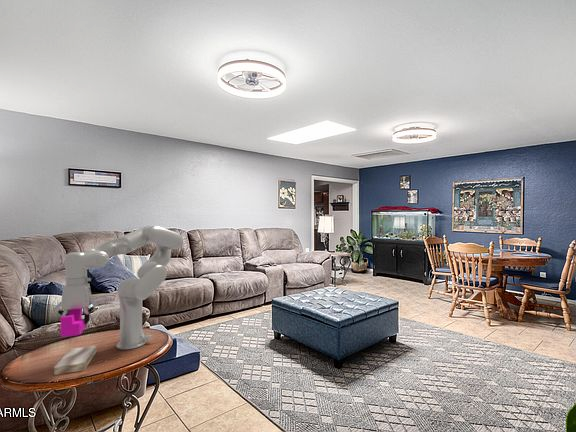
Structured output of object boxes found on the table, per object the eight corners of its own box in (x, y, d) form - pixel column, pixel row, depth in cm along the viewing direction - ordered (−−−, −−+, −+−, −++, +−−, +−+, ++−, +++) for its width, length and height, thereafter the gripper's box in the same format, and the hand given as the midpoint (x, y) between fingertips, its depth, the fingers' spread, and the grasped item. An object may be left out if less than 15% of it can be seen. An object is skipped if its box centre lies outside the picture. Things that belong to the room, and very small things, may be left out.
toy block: (79, 334, 124) (79, 315, 124) (60, 337, 122) (60, 317, 122) (88, 323, 138) (88, 306, 138) (71, 325, 136) (71, 308, 136)
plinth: (96, 352, 142) (96, 345, 142) (84, 370, 124) (84, 362, 124) (70, 355, 138) (70, 348, 138) (54, 375, 120) (54, 367, 120)
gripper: (101, 278, 138) (102, 319, 138) (55, 281, 133) (55, 324, 132) (97, 281, 131) (98, 324, 131) (48, 284, 125) (48, 330, 125)
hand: (76, 324), depth 131 cm, fingers closed on toy block, 6 cm apart
